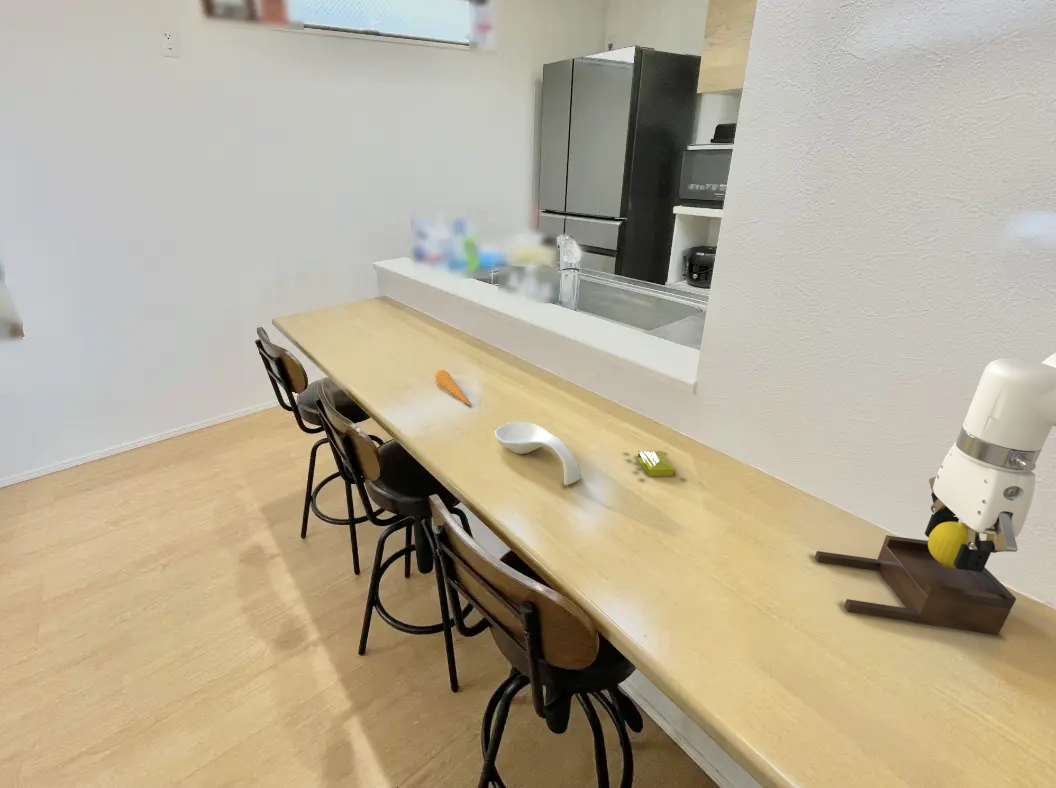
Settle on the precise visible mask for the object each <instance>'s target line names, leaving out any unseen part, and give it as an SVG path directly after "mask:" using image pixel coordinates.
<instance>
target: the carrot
mask: <svg viewBox="0 0 1056 788" xmlns="http://www.w3.org/2000/svg"><path fill="white" fill-rule="evenodd" d="M434 378H435V381H436V382H437V383H439V384H440V385H441V386H442V387H444V388H445V389H446V390H448V391H449V392H450V393H452V394H453V395H454V396H455V397H457V398H458V399H459V400H461V401H462V402H464V403H465V404H467V405H468V406H471V404H470V402H469V400H468V399H467V396H466V395H465V394H464V392H463V391H462V390H461V388H460V387H459V386H458V384H457V382H456V381H455V380H454V379H453V377H452V375H451V374H450V373H449V372H448V371H447V370H445V369H444V368H443V369H438V370H437V371H436V372H435V374H434Z"/></svg>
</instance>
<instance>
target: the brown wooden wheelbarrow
mask: <svg viewBox="0 0 1056 788" xmlns="http://www.w3.org/2000/svg"><path fill="white" fill-rule="evenodd" d="M814 559H815V561H816V562H817V563H823V564H829V565H838V566H842V567H843V566H844V567H851V568H859V569H866V570H873V571H878V573H880V575H881V577H882V578H883V579H884V580H885V582H886V583H887V584H888V586H889V587H890V588H891V590H892V592H894V594H895V595H896V596H897V598H898V599H899V601H900V602H901V603H902V605H903V606H904V607H902V606H901V607H900V606H895V605H890V604H889V605H888V604H881V603H876V602H870V601H863V600H856V599H849V598H846V600H845V602H844V605H843V606H844V608H845V610H846V612H848V613H855V614H859V615H860V614H861V615H866V616H873V617H879V618H885V619H890V620H891V619H892V620H897V621H906V622H910V623H916V624H917V623H918V624H923V625H929V626H936V627H941V628H944V627H945V628H949V629H955V630H961V631H962V630H963V631H966V632H967V631H969V632H975V633H979V634H987V635H992V636H993V635H995V636H999V635H1000V633H1001V631H1002V630H1003V626H1004V625H1005V622H1006V621H1007V619H1008V617H1009V615H1010V613H1011V611H1012V609H1013V607H1014V605H1015V602H1016V600H1017V597H1016V596H1015V595H1014V594H1013V593H1012V592H1010V590H1009V589H1007V587H1006V586H1004V584H1002V583H1001V582H1000V580H999V579H998V578H997V577H995V576H994V575H993V573H992V572H991V571H990V570H988V569H987V568H986V567H984V569H983V571H981V572H977V571H970V570H962V569H954V568H946V567H944V566H943V565H942V564H941V563H939V562H938V561H937V560H936V559H935V558H934V557H933V556H932V555H931V553H930V551H929V548H928V540H926V539H917V538H910V537H904V536H903V537H902V536H895V535H885V538H884V540H883V543H882V545H881V548H880V551H879V554H878V557H877V558H870V557H863V556H858V555H857V556H856V555H849V554H842V553H841V554H840V553H836V552H828V551H820V550H816V552H815V556H814Z"/></svg>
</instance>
